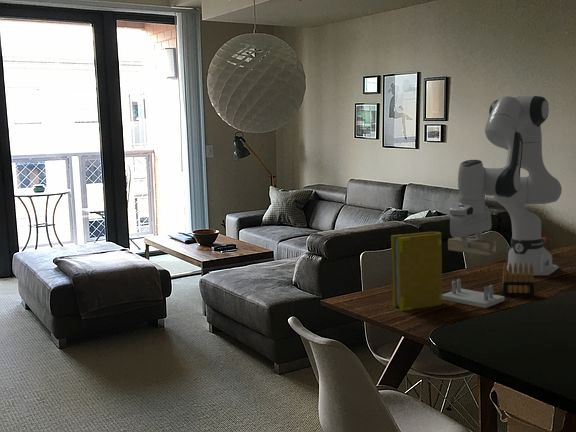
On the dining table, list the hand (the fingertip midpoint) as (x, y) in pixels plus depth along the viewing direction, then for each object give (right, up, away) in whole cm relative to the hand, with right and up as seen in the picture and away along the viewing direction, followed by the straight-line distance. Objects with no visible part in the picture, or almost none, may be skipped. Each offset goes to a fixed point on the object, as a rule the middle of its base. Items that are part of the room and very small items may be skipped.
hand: (471, 246), depth 225 cm
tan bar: (0, -2, 0) cm, 2 cm away
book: (-18, -21, -1) cm, 28 cm away
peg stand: (+1, -19, +3) cm, 19 cm away
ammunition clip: (+18, -18, +6) cm, 26 cm away
